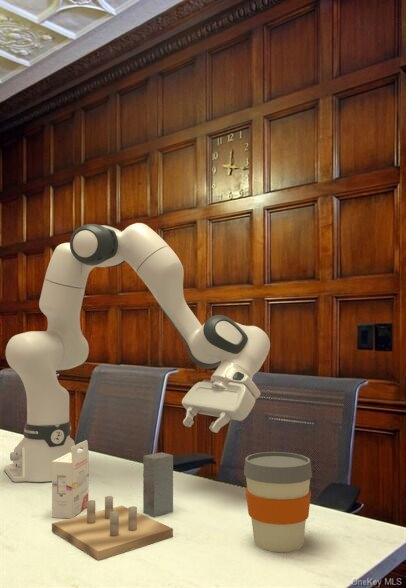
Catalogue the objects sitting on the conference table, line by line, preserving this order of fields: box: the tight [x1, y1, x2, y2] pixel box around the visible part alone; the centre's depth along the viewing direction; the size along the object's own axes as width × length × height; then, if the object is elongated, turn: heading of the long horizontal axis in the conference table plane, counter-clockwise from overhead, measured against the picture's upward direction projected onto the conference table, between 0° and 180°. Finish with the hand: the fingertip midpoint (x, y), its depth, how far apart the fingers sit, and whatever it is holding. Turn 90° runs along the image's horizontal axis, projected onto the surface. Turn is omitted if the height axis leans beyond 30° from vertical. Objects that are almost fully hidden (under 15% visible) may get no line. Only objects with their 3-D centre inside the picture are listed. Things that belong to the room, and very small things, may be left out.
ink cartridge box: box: [51, 439, 90, 519], centre depth 117 cm, size 9×5×15 cm, turn 168°
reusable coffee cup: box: [243, 451, 313, 553], centre depth 99 cm, size 12×13×15 cm
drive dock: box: [51, 495, 174, 561], centre depth 104 cm, size 18×16×6 cm
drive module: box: [142, 451, 174, 518], centre depth 116 cm, size 4×5×12 cm
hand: (199, 427), depth 124 cm, fingers open, 8 cm apart
